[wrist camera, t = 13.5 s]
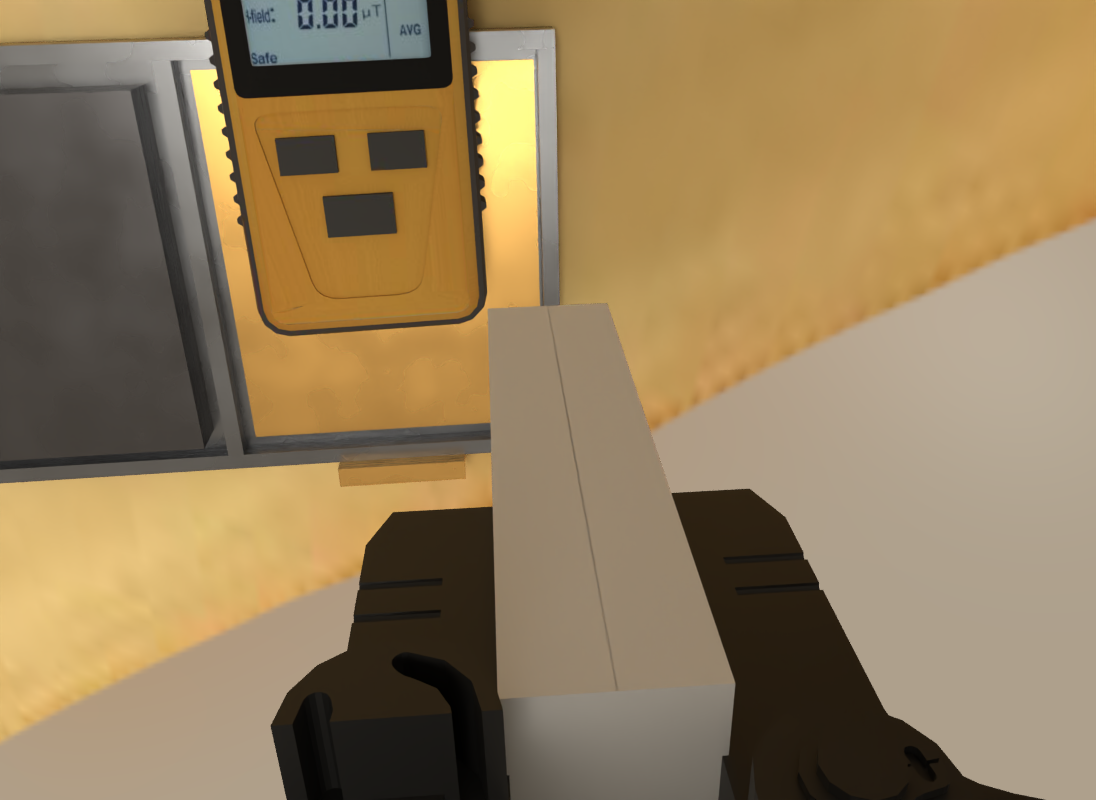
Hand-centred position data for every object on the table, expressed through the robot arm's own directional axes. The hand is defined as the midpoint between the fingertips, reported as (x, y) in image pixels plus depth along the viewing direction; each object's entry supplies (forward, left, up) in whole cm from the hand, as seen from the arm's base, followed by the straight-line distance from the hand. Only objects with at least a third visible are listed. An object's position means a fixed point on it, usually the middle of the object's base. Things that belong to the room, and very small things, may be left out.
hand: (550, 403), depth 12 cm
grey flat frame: (+5, -11, -24) cm, 27 cm away
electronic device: (+6, -4, -25) cm, 26 cm away
